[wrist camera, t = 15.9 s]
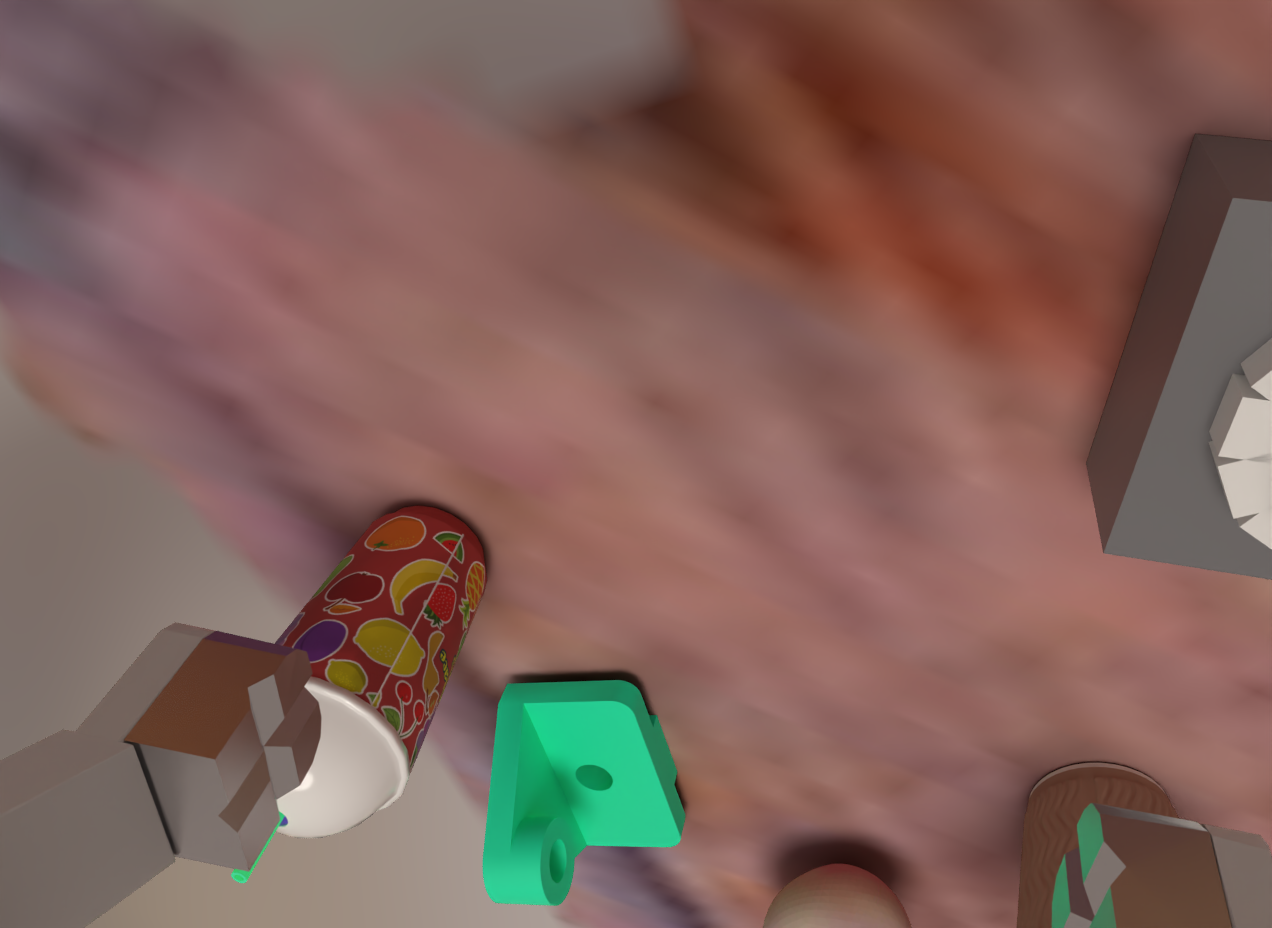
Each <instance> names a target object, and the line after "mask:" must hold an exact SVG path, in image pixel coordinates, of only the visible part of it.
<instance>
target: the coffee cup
mask: <svg viewBox="0 0 1272 928" xmlns="http://www.w3.org/2000/svg"><path fill="white" fill-rule="evenodd" d="M1091 803H1096V804H1102V805H1107V806H1113V807H1118V808H1124V809H1129V810H1135V811H1140V812H1146V813H1151V814H1157V815H1162V816H1168V817H1173V818H1178V819H1179V817H1178V815H1177V814H1176V811H1175V809H1174V808H1173V807H1172V806H1171V803H1170V801H1169V799H1168V797H1167V795H1166V793H1165V792H1164V790H1163V789H1162V788H1161V786H1160V785H1158V784H1157V783H1156V782H1155V781H1154V780H1153V779H1151V778H1150V777H1148V776H1146V775H1144V774H1143V773H1141V772H1139V771H1136V770H1133V769H1131V768H1128V767H1124V766H1120V765H1116V764H1109V763H1082V764H1075V765H1071V766H1067V767H1064V768H1061V769H1058V770H1056V771H1054V772H1052V773H1050V774H1048V775H1047V776H1045V777H1044V778H1043V779H1041V780H1040V781H1039V782H1038V783H1037V784H1036V785H1035V787H1034V788H1033V790H1032V792H1031V794H1030V796H1029V801H1028V807H1027V813H1025V819H1024V830H1023V844H1022V859H1021V872H1020V887H1019V900H1018V916H1017V928H1052V900H1053V894H1054V888H1055V882H1056V876H1057V873H1058V870H1059V868H1060V865H1061V862H1062V860H1063V857H1064V854H1066V853H1068V852H1070V851H1072V850H1074V849H1076V848H1078V847H1079V841H1078V832H1077V824H1078V822H1079V820H1080V818H1081V815H1082V813H1083V811H1084V809H1085V808H1086V807H1087V806H1089V805H1090V804H1091Z"/></svg>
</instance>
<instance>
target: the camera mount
mask: <svg viewBox="0 0 1272 928" xmlns="http://www.w3.org/2000/svg"><path fill="white" fill-rule="evenodd" d="M676 776H677V770H676V767H675V764H674V761H673V758H672V756H671V753H670V750H669V747H668V745H667V742H666V739H665V736H664V734H663V731H662V728H661V725H660V723H659V720H658V717H657V715H649V714H648V712H647V709H646V706H645V703H644V701H643V698H642V695H641V693H640V691H639V690H638V688H637V687H635V686H634V685H633V684H631V683H629V682H626V681H622V680H603V681H573V682H543V683H513V684H507V686H506V688H505V690H504V692H503V695H502V697H501V699H500V702H499V704H498V713H497V723H496V733H495V743H494V753H493V763H492V773H491V783H490V793H489V803H488V813H487V823H486V833H485V843H484V852H483V878H484V883H485V888H486V891H487V893H488V895H489V897H490V898H491V899H492V900H493V901H494V902H495V903H505V904H529V905H553V906H557V905H559V904H561V903H562V902H563V901H564V899H565V898H566V896H567V894H568V892H569V889H570V886H571V882H572V878H573V872H574V859H575V857H576V856H577V855H578V854H579V853H580V852H581V851H582V850H583V849H584V848H585V847H586V846H587V845H592V846H639V847H672V846H675V845H677V844H678V843H679V842H680V839H681V835H682V830H683V826H684V822H685V812H684V810H683V807H682V804H681V801H680V799H679V796H678V793H677V791H676V788H675V785H674V784H675V780H676Z"/></svg>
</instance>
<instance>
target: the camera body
mask: <svg viewBox="0 0 1272 928" xmlns="http://www.w3.org/2000/svg"><path fill="white" fill-rule="evenodd" d="M1086 465H1087V470H1088V475H1089V481H1090V486H1091V491H1092V496H1093V501H1094V507H1095V512H1096V517H1097V522H1098V527H1099V532H1100V538H1101V543H1102V548H1103V553H1105V554H1112V555H1118V556H1125V557H1131V558H1137V559H1144V560H1150V561H1156V562H1163V563H1169V564H1176V565H1182V566H1188V567H1195V568H1201V569H1207V570H1214V571H1220V572H1227V573H1233V574H1239V575H1246V576H1252V577H1258V578H1265V579H1271V580H1272V141H1266V140H1255V139H1245V138H1234V137H1224V136H1213V135H1203V134H1195V136H1194V139H1193V142H1192V145H1191V148H1190V151H1189V154H1188V157H1187V160H1186V163H1185V166H1184V169H1183V172H1182V175H1181V178H1180V182H1179V185H1178V188H1177V191H1176V194H1175V197H1174V200H1173V203H1172V206H1171V209H1170V212H1169V215H1168V218H1167V221H1166V224H1165V227H1164V230H1163V233H1162V236H1161V239H1160V242H1159V245H1158V248H1157V251H1156V254H1155V257H1154V260H1153V263H1152V266H1151V269H1150V272H1149V275H1148V278H1147V281H1146V284H1145V287H1144V290H1143V293H1142V296H1141V299H1140V302H1139V305H1138V308H1137V311H1136V314H1135V317H1134V320H1133V323H1132V326H1131V330H1130V333H1129V336H1128V339H1127V342H1126V345H1125V348H1124V351H1123V354H1122V357H1121V360H1120V363H1119V366H1118V369H1117V372H1116V375H1115V378H1114V381H1113V384H1112V387H1111V390H1110V393H1109V396H1108V399H1107V402H1106V405H1105V408H1104V411H1103V414H1102V417H1101V420H1100V423H1099V426H1098V429H1097V432H1096V435H1095V438H1094V441H1093V444H1092V447H1091V450H1090V453H1089V456H1088V459H1087V462H1086Z"/></svg>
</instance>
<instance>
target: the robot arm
mask: <svg viewBox="0 0 1272 928" xmlns="http://www.w3.org/2000/svg"><path fill="white" fill-rule="evenodd" d="M312 674H313V673H312V669H311V665H310V661H309V658H308V654H307V652H306V651H303V650H299V649H296V648H291V647H287V646H282V645H278V644H273V643H269V642H264V641H260V640H255V639H251V638H246V637H242V636H237V635H233V634H229V633H224V632H220V631H214V630H209V629H205V628H200V627H195V626H190V625H186V624H181V623H174V624H172V625H170V626H168V627H166V628H164V629H162V630H161V631H160V632H159V633H158V634H157V635H156V636H155V638H154V639H153V640H152V641H151V642H150V644H149V645H148V646H147V647H146V648H145V650H144V651H143V652H142V653H141V654H140V655H139V657H138V658H137V659H136V660H135V661H134V663H133V664H132V665H131V666H130V667H129V668H128V670H127V671H126V672H125V673H124V674H123V676H122V677H121V678H120V679H119V680H118V681H117V683H116V684H115V685H114V686H113V687H112V689H111V690H110V691H109V692H108V693H107V695H106V696H105V697H104V698H103V699H102V700H101V702H100V703H99V704H98V705H97V706H96V708H95V709H94V710H93V711H92V712H91V714H90V715H89V716H88V717H87V718H86V720H85V721H84V722H83V723H82V724H81V726H80V727H79V728H78V729H77V730H76V731H75V732H74V731H69V730H61V731H59V732H57V733H55V734H53V735H51V736H49V737H47V738H45V739H43V740H41V741H39V742H37V743H35V744H32V745H31V746H28V747H26V748H24V749H22V750H20V751H18V752H16V753H15V754H12V755H10V756H8V757H6V758H4V759H2V760H0V928H85V927H86V926H88V925H89V924H91V923H92V922H93V921H95V920H96V919H97V918H99V917H100V916H101V915H103V914H104V913H106V912H107V911H108V910H110V909H111V908H112V907H114V906H115V905H117V904H118V903H119V902H121V901H122V900H123V899H125V898H126V897H127V896H129V895H130V894H132V893H133V892H134V891H136V890H137V889H138V888H140V887H141V886H143V885H144V884H145V883H147V882H148V881H149V880H151V879H152V878H153V877H155V876H156V875H158V874H159V873H160V872H162V871H163V870H164V869H166V868H167V867H169V866H170V865H171V864H173V863H174V862H175V857H179V858H184V859H190V860H194V861H200V862H204V863H209V864H214V865H219V866H224V867H229V868H233V869H238V870H243V871H248V872H249V871H250V869H251V868H252V866H253V864H254V863H255V861H256V859H257V858H258V856H259V854H260V853H261V851H262V849H263V848H264V846H265V844H266V842H267V841H268V839H269V837H270V836H271V834H272V832H273V831H274V829H275V827H276V826H277V824H278V822H279V821H280V816H279V810H278V803H277V799H279V798H280V797H282V796H284V795H285V794H287V793H289V792H290V791H292V790H294V789H295V788H297V787H299V786H300V785H301V783H302V781H303V780H304V778H305V776H306V774H307V772H308V771H309V769H310V767H311V765H312V764H313V760H314V757H315V754H316V751H317V747H318V744H319V741H320V738H321V719H322V717H321V712H320V707H319V702H318V701H317V700H316V699H315V697H314V696H313V695H312V694H311V693H310V692H309V691H308V690H307V689H306V688H305V687H304V686H305V685H306V683H307V682H308V680H309V678H310V677H311V675H312ZM1077 832H1078V841H1079V847H1078V848H1076V849H1074V850H1072V851H1070V852H1068V853H1066V854H1064V857H1063V860H1062V862H1061V865H1060V868H1059V870H1058V873H1057V876H1056V882H1055V888H1054V894H1053V900H1052V928H1272V856H1271V852H1270V849H1269V846H1268V844H1267V843H1266V842H1265V841H1264V839H1263V838H1262V837H1261V836H1260V835H1257V834H1252V833H1247V832H1242V831H1237V830H1231V829H1226V828H1221V827H1216V826H1211V825H1206V824H1199V823H1197V822H1195V821H1189V820H1184V819H1178V818H1173V817H1168V816H1162V815H1157V814H1151V813H1146V812H1140V811H1135V810H1129V809H1124V808H1118V807H1113V806H1107V805H1102V804H1096V803H1091V804H1090V805H1089V806H1087V807H1086V808H1085V809H1084V811H1083V813H1082V815H1081V818H1080V820H1079V822H1078V824H1077Z"/></svg>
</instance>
